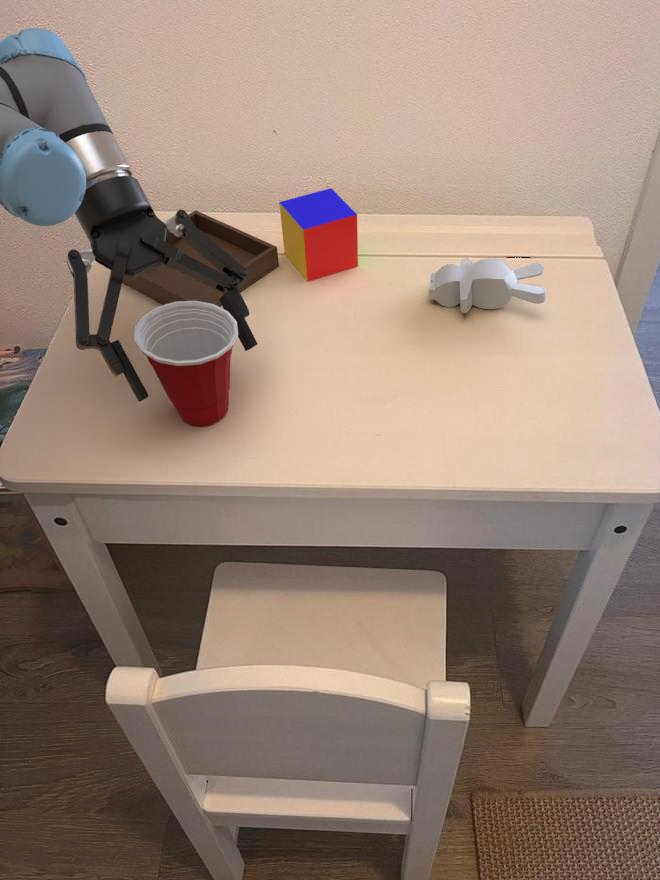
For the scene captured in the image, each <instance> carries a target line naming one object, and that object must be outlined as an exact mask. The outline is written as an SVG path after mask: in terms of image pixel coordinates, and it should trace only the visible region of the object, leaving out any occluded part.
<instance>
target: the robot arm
mask: <svg viewBox="0 0 660 880" xmlns="http://www.w3.org/2000/svg"><path fill="white" fill-rule="evenodd" d="M133 171H134V170H133V168H132V165H131V164H130V162H129V160H128V159H127V156H126V155H125V153H124V151H123V149H122V147H121V146H120V144H119V141H118V140H117V138H116V136H115V135H114V133H113V131H112V129H111V127H110V124H109V122H108V121H107V119H106V117H105V115H104V113H103V111H102V109H101V107H100V105H99V103H98V101H97V99H96V97H95V95H94V93H93V92H92V89H91V88H90V85H89V83H88V82H87V78H86V75H85V72H84V71H83V69H82V68H81V67H80V65H79V64H78V62H77V61H76V59H75V57H74V55H73V54H72V51H71V50H70V49H69V47H67V45H66V43H65V41H64V40H63V38H62V37H61V36H60V35H59V34H57V33H55V32H54V31H52V30H49V29H46V28H41V27H31V28H23V29H21V30H20V31H19V32H18V33H16V34H9V35H8V36H6V37H4V38H3V39H2V40H1V41H0V205H1V206H2V208H3V209H5V210H6V211H7V213H9V214H10V215H12V216H13V217H16V218H19V219H21V220H23V221H24V222H27V223H29V224H31V225H34V226H39V227H50V226H51V227H52V226H55V225H58V224H61V223H64V222H66V221H67V220H68V219H70V218H71V217H72V216H73V215H75V218H76V219H77V221H78V223H79V224H80V226H81V228H82V230H83V232H84V234H85V235H86V238H87V239H88V241H89V244H90V248H88V249H84V250H79V251H78V250H77V249H70V250H69V251H68V252H67V257H66V265H67V267H68V269H69V272H70V274H71V277H72V279H73V298H74V299H73V301H74V302H73V303H74V331H75V333H74V334H75V346H76V348H77V349H78V350H80V351H85V350H97V351H98V352H99V353H100V354H101V356H102V358H103V360H104V361H105V364H106V365H107V367H108V369H109V370H110V373H111V374H112V375H113V376H115V377H119V376H121V375H122V374H123V375H124V378H125V379H126V381H127V383H128V385H129V387H130V388H131V390H132V392H133V394H134V395H135V397H136V399H137V401H138V403H139V402H142V401H145V400H146V399H147V398H148V397H149V396H150V395H149V393H148V392H147V389H146V387H145V386H144V384H143V382H142V380H141V378H140V376H139V374H138V373H137V371H136V369H135V367H134V365H133V363H132V362H131V360H130V358H129V356H128V355H127V353H126V351H125V349H124V347H123V346H122V344H121V342H120V340H119V339H116V340H113V341H112V342H111V340H110V338H111V334H112V329H113V326H114V321H115V315H116V311H117V308H118V303H119V298H120V294H121V290H122V285H123V283H122V281H123V277H124V278H128V279H132V280H133V279H136V278H138V277H139V276H141V275H142V274H143V273H148V272H153V271H155V270H158V268H159V267H160V266H161V264H163V265H165V266H166V267H169V268H173V269H176V270H178V271H180V272H182V273H184V274H186V275H188V276H190V277H192V278H194V279H196V280H198V281H200V282H202V283H204V284H206V285H208V286H209V287H211V288H213V289H215V290H217V291H219V292H221V293H223V294H224V295H223V296H222V297H221V298H220V299H219V301H220V303H221V304H222V305H221V307H222V309H224V310H226V311H228V312H229V313H230V314H231V315H232V317H233V318H234V319H235V320H236V321H237V327H238V336H237V338H238V340H239V342H240V343H241V345H242V347H243V349H244V351H245V352H247V351H250V350H251V349H253V348H254V347H256V346H258V341H257V340H256V338H255V336H254V333H253V332H252V330H251V328H250V325H249V324H248V322H247V320H246V318H247V317H249V316H250V310H249V307H248V306H247V304H246V302H245V300H244V297H243V296H242V294H241V292H239V289H238V287H239V284H240V283H241V282H242V281H243V280H244V279H245V278H246V277H247V275H248V272H247V270H246V268H244V267H243V266H242V265H241V264H240V263H238V262H237V261H236V260H235V259H234V258H232V257H231V256H230V255H229V254H228V253H227V252H225V251H224V250H223V249H222V248H221V247H219V246H218V245H217V244H216V243H215V242H213V241H212V240H211V239H210V238H209V237H208V236H206V235H205V234H204V233H203V232H202V231H200V230H199V229H198V228H197V227H196V226H195V225H194V223H193V222H192V220H191V219H190V217H189V215H188V214H189V213H188V212H187V211H186V210H184V209H178V210H177V211H176V213H175V215H173V216H172V217H170V218H168V219H166V220H163V221H162V220H161V219H160V218H159V217H158V216H157V215H156V213H155V211H154V209H153V207H152V205H151V203H150V200H149V198H148V197H147V195H146V194H145V191H144V189H143V188H142V186H141V183H140V181H139V180H138V179H137V178H136V177H133V176H132V175H133V173H134V172H133ZM168 232H171V233H173V234H174V235H175V236H177V237H182V239H183V240H184V241H185V242H186V243H187V244H188V245H190V246H191V247H192V248H193V249H194V250H196V251H197V252H198V253H199V254H200V255H202V256H203V257H204V258H205V259H207V260H208V261H209V262H210V263H211V264H213V265H214V266H215V267H216V268H217V269H219V270H220V271H221V272H222V273H221V272H219V271H217V270H215V269H213V268H211V267H209V266H208V265H206V264H204V263H202V262H200V261H198V260H196V259H194V258H192V257H190V256H188V255H186V254H184V253H182V252H181V250H180V249H178V248H176V247H174V246H173V245H171V244H169V243H167V236H168ZM93 262H96V263H98V264H99V265H101V266H103V267H104V268H106V269H108V270H109V271H110V272H109V273H110V274H109V278H108V282H107V286H106V291H105V296H104V300H103V306H102V309H101V312H100V313H101V314H100V319H99V323H98V328H97V332H96V334H93V333H92V334H90V308H89V306H90V305H89V303H90V302H89V282H88V273H90V272H91V270H92V263H93Z"/></svg>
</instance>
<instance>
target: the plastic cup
mask: <svg viewBox="0 0 660 880" xmlns="http://www.w3.org/2000/svg"><path fill="white" fill-rule="evenodd" d="M133 332H134V333H133V340H134V342H135V344H136V345H137V347H138V348H139V350H140V351H141V353H142V354H143V355H144V356H145V357H146V359H147V361H148V362H149V364H150V365H151V367H152V369H153V371H154V372H155V375H156V377H157V378H158V380H159V382H160V384H161V386H162V388H163V390H164V393H165V394H166V396H167V398H168V399H169V401H170V402H171V404H172V405H173V407H174V409H175V411H176V413H177V414H178V416H179V417H180V419H182V421H183V422H184V423H185V424H188V425H189V426H193V427H200V428H202V427H210V426H212V425H214V424H217V423H219V422H220V421H221V420H223V418H225V416H226V414H227V413H228V411H229V406H230V405H229V404H230V401H229V399H230V396H229V395H230V391H229V390H230V387H231V386H230V385H231V384H230V383H231V360H232V359H231V357H232V353H233V348H234V344H235V342H236V340H237V338H238V327H237V321H236V320H235V319H234V318H233V317H232V315H231V314H230V313H229V312H228V311H226V310H224V308H223V307H221V306H220V307H218V306H216V305H214V304H210V303H205V302H200V301H178V302H172V303H169V304H165V305H163V304H161V305H159V306H155V308H153V309H151V310H149V311H147V313H145V314H143V315H142V316H141V317H140V318H139V320H138V321H137V323H136V324H135V326H134V331H133Z"/></svg>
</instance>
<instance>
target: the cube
mask: <svg viewBox="0 0 660 880" xmlns="http://www.w3.org/2000/svg"><path fill="white" fill-rule="evenodd" d="M279 214H280V222H281V223H280V224H281V232H282V242H283V251H284V255H285V256H286V257H287V258H288V260H289V261H290V262H291V263H292V265H293V266H294V267H295V269H296V270H297V271H298V272H299V273H300V274H301V276H302V277H303V278H304V279H305V281H306V282H311V281H314V280H318V279H321V278H324V277H328V276H330V275H333V274H336V273H340V272H343V271H346V270H350V269H353V268H357V267H359V243H358V240H359V239H358V238H359V237H358V214H357V212H356V211H355V210H354V209H352V208H351V207H350V206H349V204H347V202H346V201H345V200H344V199H343V198H341V196H340V195H339V194H338V193H337V192H336V191H335V190H334V189H333V188H332V187H331V188H326V189H322V190H319V191H315V192H312V193H311V192H310V193H308V194H304V195H299V196H297V197H292V198H290V199H286V200H282V201H281V200H280V201H279Z"/></svg>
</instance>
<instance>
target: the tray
mask: <svg viewBox="0 0 660 880" xmlns="http://www.w3.org/2000/svg"><path fill="white" fill-rule="evenodd" d="M187 214H188V215H189V217H190V219H191V220H192V222H193V223H194V225H195V226H196V227H197V228H198V229H199V230H200V231H202V232H203V233H204V234H205V235H206V236H208V237H209V238H210V239H211V240H212V241H213V242H215V243H216V244H217V245H218V246H219V247H221V248H222V249H223V250H224V251H225V252H227V253H228V254H229V255H230V256H231V257H232V258H234V259H235V260H236V261H237V262H238V263H240V264H241V265H242V266H243V267H244V268H246V270H247V272H248V275H247V277H246V278H245V279H244V280H243V281H242V282H241V283H240V284H239V287H238V289H239V292H240V293H241V292H243V291H245V290H246V289H248V288H249V287H250V286H252V285H254V284H255V283H256V282H258V281H259V280H261V278H263V277H265V276H266V275H268V274H269V273H271V272H272V271H273V270H275V269H276V268H278V267H280V262H279V253H278V246H277V245H274V244H271V243H269V242H267V241H265V240H262V239H261V238H259V237H256V236H254V235H252V234H249V233H247V232H246V231H244V230H243V231H242V230H241V229H239V228H236V227H234V226H232V225H229V224H227V223H225V222H224V221H220V220H218V219H216V218H214V217H211V216H210V215H208V214H205V213H203V212H200V211H199V210H196V209H195V210H194V211H192V212H190V213H187ZM167 243H169V244H171V245H173V246H174V247H176V248H178V249H180V250H181V252H182V253H184V254H186V255H188V256H190V257H192V258H194V259H196V260H198V261H200V262H202V263H204V264H206V265H208V266H209V267H211V268H213V269H215V270H217V271H219V272H221V271H220V270H219V269H217V268H216V267H215V266H214V265H213V264H211V263H210V262H209V261H208V260H207V259H205V258H204V257H203V256H202V255H200V254H199V253H198V252H197V251H196V250H194V249H193V248H192V247H191V246H190V245H188V244H187V243H186V242H185V241H184V240H183V239H182V237H177V236H175V235H174V234H173V233H171V232H168V236H167ZM221 273H222V272H221ZM122 284H124V285H126V286H128V287H129V288H132V289H134V290H136V291H137V292H139V293H141V294H143V295H144V296H147V297H149V298H150V299H152V300H154V301H156V302H157V303H160V304H161V305H165V304H169V303H172V302H178V301H200V302H205V303H210V304H214V305H216V306H218V307H220V308H221V307H222V304H221V303H220V301H219V299H220V298H221V297H222V296H223V295H224V294H223V293H221V292H219V291H217V290H215V289H213V288H211V287H209V286H208V285H206V284H204V283H202V282H200V281H198V280H196V279H194V278H192V277H190V276H188V275H186V274H184V273H182V272H180V271H178V270H176V269H173V268H169V267H166V266H165V265H163V264H161V266H160V267H159V268H158V270H155V271H153V272H148V273H143V274H142V275H141V276H139V277H138V278H136V279H133V280H132V279H128V278H124V277H123V281H122Z"/></svg>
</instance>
